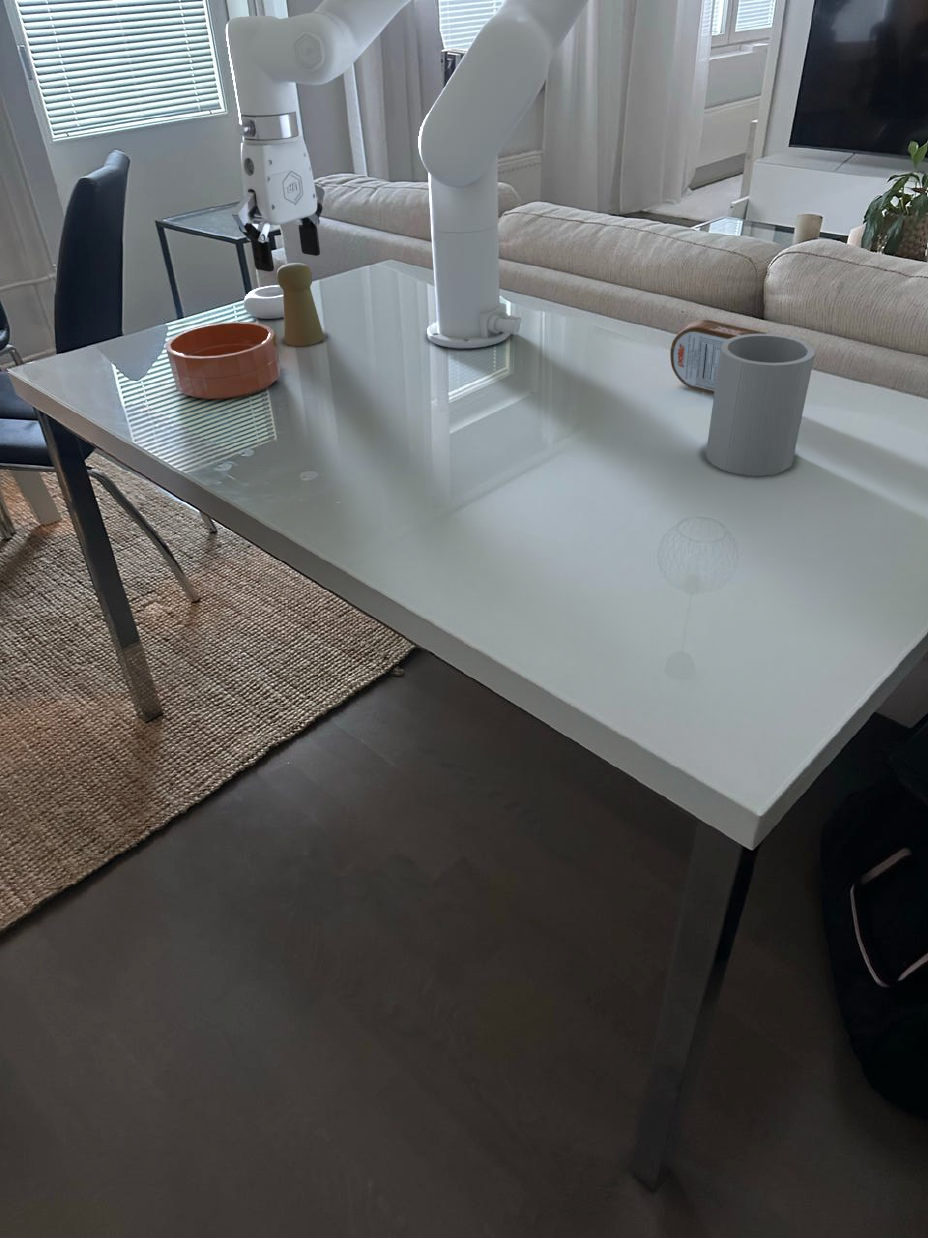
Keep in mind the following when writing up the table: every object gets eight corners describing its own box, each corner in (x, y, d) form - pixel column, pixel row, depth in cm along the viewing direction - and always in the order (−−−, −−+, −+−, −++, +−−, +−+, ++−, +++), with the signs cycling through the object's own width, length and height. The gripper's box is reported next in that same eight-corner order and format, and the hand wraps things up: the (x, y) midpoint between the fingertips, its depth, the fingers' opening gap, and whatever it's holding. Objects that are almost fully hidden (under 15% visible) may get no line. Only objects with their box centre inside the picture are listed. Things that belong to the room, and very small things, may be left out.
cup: (689, 455, 95) (702, 348, 87) (741, 431, 99) (758, 327, 92) (757, 484, 89) (777, 372, 81) (809, 457, 93) (833, 348, 86)
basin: (302, 373, 120) (295, 330, 116) (227, 410, 111) (217, 365, 107) (231, 356, 127) (223, 315, 123) (154, 390, 118) (143, 347, 114)
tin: (783, 404, 104) (796, 335, 99) (770, 412, 102) (783, 343, 97) (676, 377, 113) (683, 312, 108) (663, 384, 111) (669, 319, 106)
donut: (240, 323, 140) (300, 320, 139) (235, 302, 138) (296, 298, 137) (253, 304, 148) (310, 301, 147) (248, 284, 146) (306, 280, 145)
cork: (330, 334, 133) (320, 260, 126) (313, 347, 128) (301, 271, 122) (296, 331, 135) (284, 258, 128) (277, 344, 130) (264, 269, 124)
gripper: (242, 139, 107) (264, 280, 117) (333, 121, 118) (346, 251, 129) (201, 135, 111) (226, 272, 121) (293, 118, 122) (309, 245, 132)
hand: (288, 261), depth 125 cm, fingers open, 9 cm apart
